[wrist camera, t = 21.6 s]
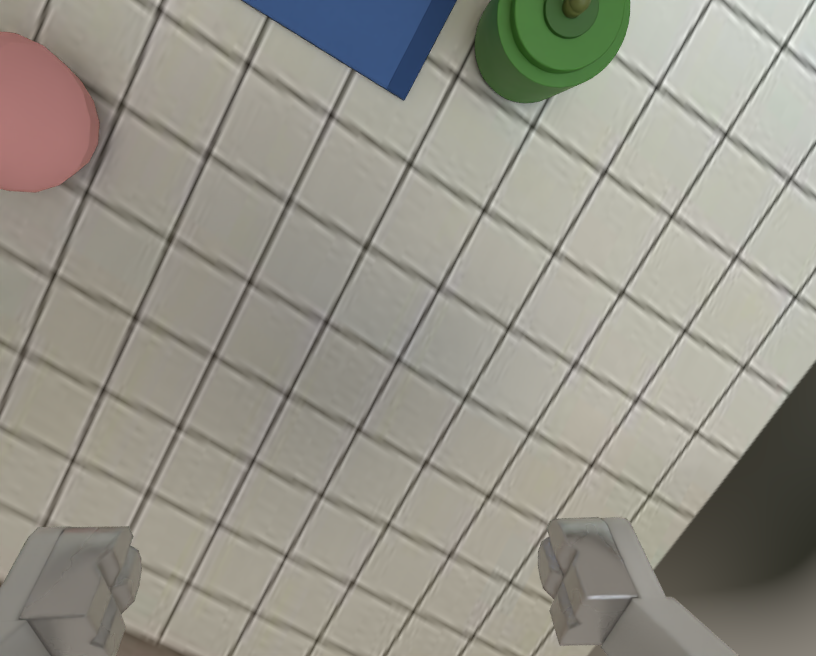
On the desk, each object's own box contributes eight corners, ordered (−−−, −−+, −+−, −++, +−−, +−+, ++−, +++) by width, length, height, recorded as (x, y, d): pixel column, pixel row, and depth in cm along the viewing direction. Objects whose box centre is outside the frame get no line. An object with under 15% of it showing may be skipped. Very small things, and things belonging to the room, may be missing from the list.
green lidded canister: (452, 68, 31) (481, 27, 22) (509, -39, 29) (564, -127, 21) (541, 124, 32) (601, 107, 23) (600, 24, 31) (687, -34, 22)
